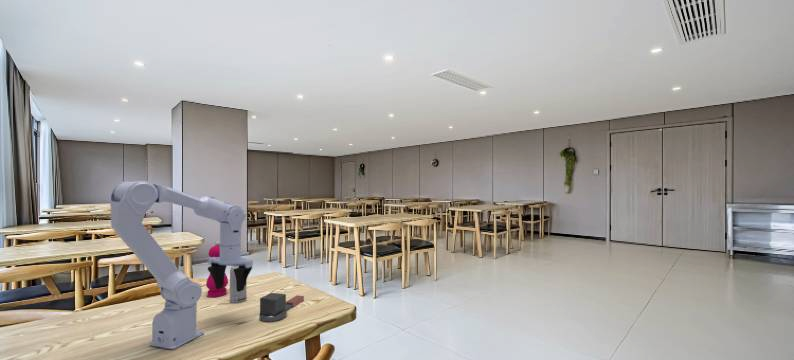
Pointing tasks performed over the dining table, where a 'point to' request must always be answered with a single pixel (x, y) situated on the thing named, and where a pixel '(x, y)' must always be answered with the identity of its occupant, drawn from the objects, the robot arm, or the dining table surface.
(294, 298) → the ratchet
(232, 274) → the energy drink
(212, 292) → the pepper mill
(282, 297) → the dark grey brushed cube
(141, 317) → the dining table surface
